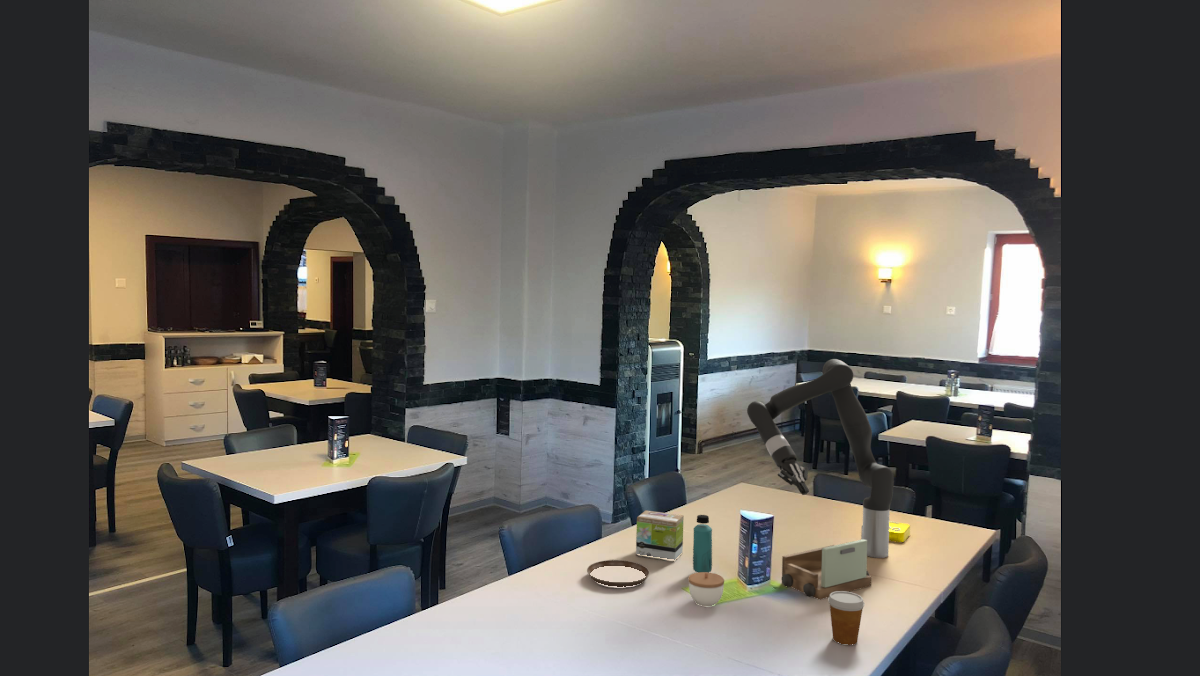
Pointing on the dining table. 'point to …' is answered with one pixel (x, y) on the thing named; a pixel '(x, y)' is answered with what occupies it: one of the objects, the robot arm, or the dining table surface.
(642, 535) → the tea box
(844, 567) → the panel
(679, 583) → the dining table surface
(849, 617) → the disposable coffee cup
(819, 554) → the drawer box
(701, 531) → the beverage bottle
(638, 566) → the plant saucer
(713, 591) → the lidded jar
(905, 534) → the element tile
